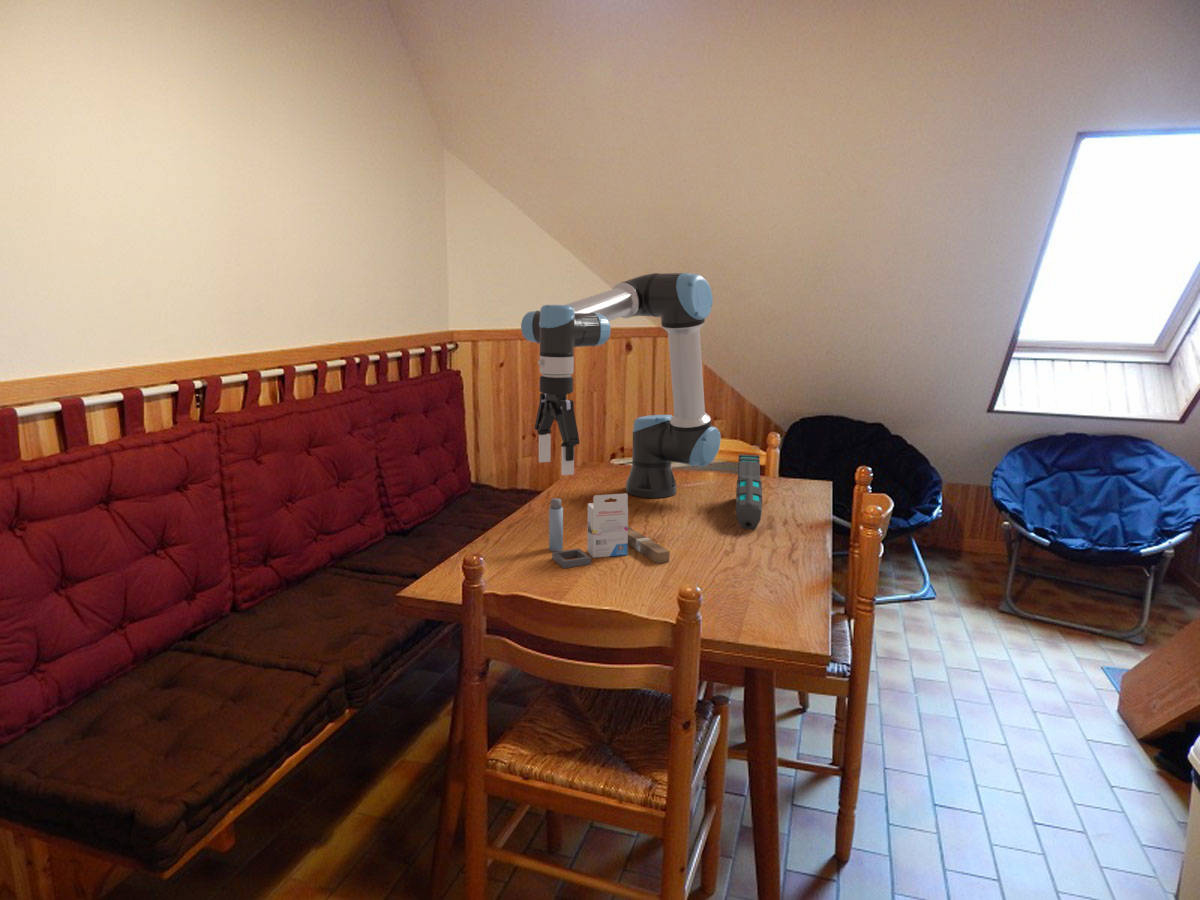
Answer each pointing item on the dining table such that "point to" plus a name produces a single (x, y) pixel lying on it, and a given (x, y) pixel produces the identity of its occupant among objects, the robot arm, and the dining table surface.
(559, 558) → the holder
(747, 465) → the gun
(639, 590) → the dining table surface
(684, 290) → the robot arm
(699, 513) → the dining table surface
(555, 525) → the blue bottle
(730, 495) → the dining table surface
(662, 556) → the grey-brown long bar
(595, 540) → the ink box
